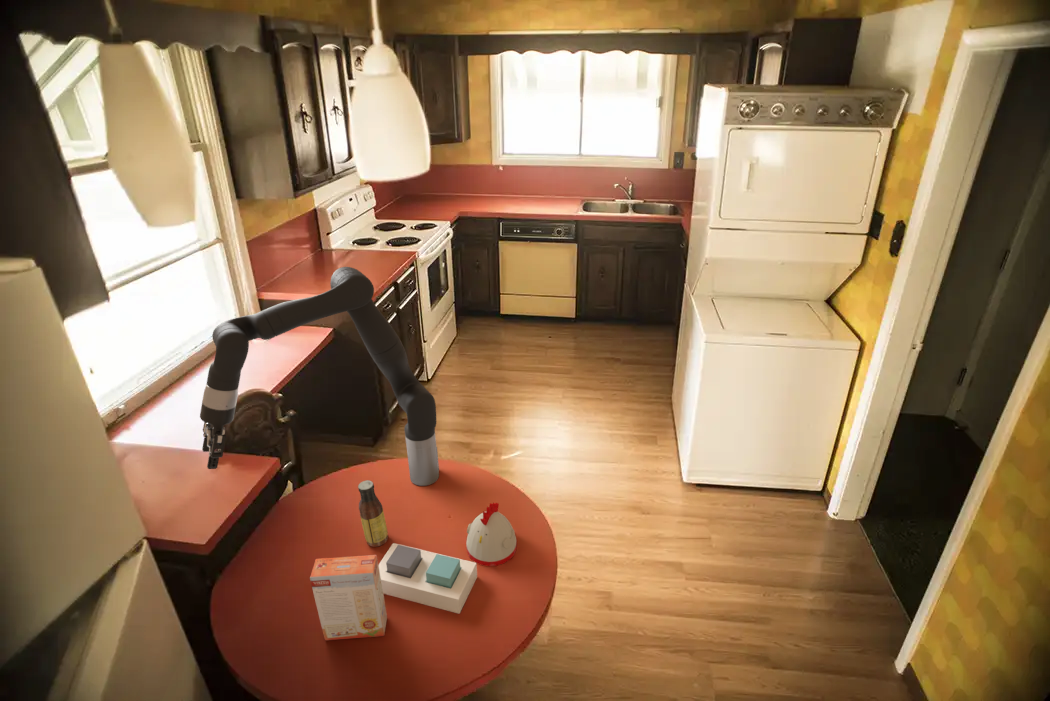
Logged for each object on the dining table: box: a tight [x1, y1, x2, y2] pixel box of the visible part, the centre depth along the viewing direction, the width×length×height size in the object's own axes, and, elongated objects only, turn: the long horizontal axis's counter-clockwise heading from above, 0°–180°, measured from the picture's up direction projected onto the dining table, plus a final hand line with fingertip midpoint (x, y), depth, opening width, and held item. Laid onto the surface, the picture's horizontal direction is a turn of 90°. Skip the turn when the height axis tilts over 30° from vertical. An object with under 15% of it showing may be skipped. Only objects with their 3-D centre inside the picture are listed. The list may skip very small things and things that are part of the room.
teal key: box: [426, 553, 461, 589], centre depth 151 cm, size 6×6×4 cm
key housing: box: [378, 542, 478, 614], centre depth 154 cm, size 12×24×5 cm, turn 73°
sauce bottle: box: [357, 479, 389, 548], centre depth 164 cm, size 7×6×20 cm
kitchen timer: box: [465, 502, 518, 567], centre depth 163 cm, size 14×14×15 cm
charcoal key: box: [386, 544, 422, 578], centre depth 154 cm, size 6×6×4 cm
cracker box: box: [309, 554, 388, 641], centre depth 138 cm, size 14×6×21 cm, turn 94°
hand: (209, 459), depth 151 cm, fingers open, 8 cm apart
